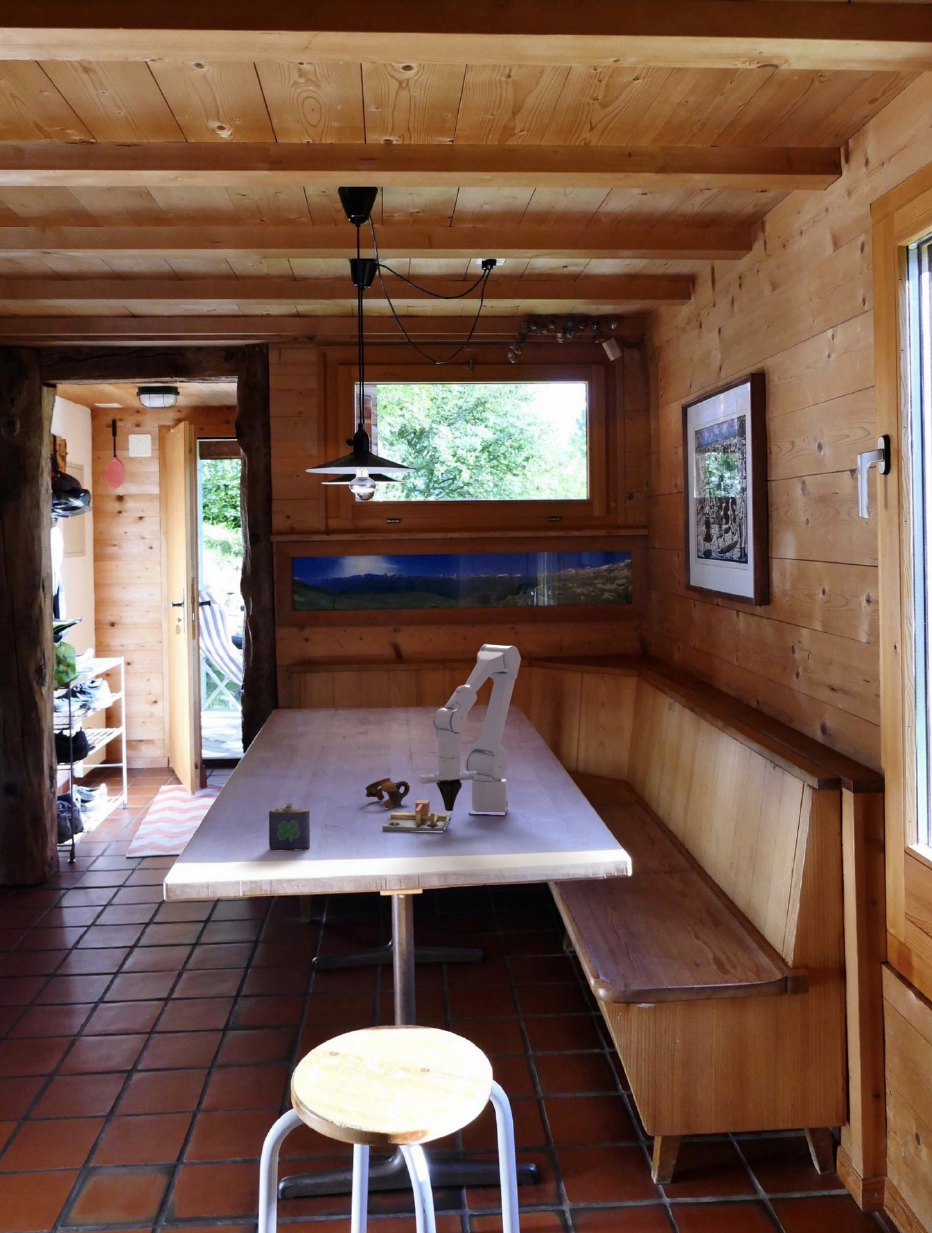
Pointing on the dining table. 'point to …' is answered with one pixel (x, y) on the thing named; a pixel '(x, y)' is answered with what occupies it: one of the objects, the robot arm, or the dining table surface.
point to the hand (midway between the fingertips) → (448, 810)
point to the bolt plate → (414, 824)
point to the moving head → (422, 809)
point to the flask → (289, 828)
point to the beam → (431, 817)
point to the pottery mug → (388, 791)
